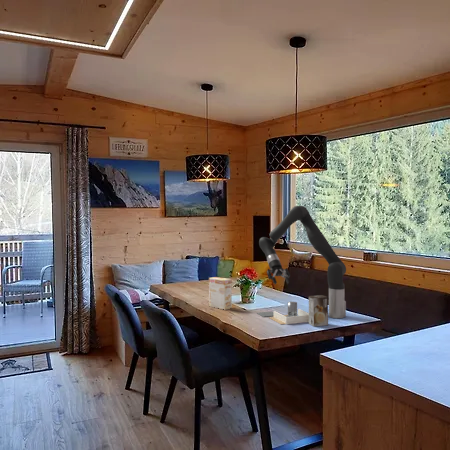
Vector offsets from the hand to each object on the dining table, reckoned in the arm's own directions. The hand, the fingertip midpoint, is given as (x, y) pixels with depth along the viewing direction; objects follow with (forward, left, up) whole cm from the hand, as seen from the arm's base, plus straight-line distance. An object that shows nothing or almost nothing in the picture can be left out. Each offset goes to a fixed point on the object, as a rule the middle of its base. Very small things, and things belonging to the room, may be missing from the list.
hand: (282, 283), depth 268 cm
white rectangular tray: (0, +14, -19) cm, 24 cm away
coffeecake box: (+30, -31, -20) cm, 47 cm away
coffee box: (-8, +29, -20) cm, 36 cm away
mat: (+9, -2, -19) cm, 22 cm away
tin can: (0, +14, -19) cm, 24 cm away
